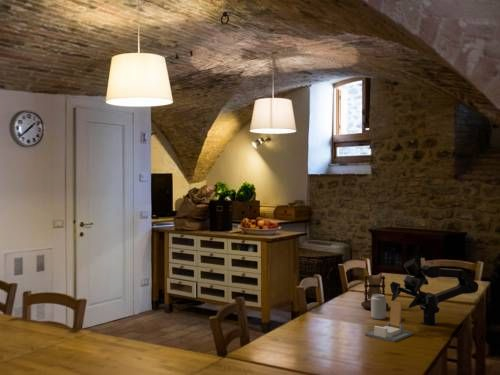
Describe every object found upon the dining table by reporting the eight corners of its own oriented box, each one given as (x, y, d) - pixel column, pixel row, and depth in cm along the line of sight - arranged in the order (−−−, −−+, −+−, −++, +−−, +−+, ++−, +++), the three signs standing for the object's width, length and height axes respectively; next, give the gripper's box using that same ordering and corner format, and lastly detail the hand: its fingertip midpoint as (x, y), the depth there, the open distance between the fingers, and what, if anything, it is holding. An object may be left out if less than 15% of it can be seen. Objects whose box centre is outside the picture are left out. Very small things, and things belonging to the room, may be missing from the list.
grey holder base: (384, 328, 262) (384, 317, 262) (413, 334, 251) (413, 323, 251) (365, 335, 250) (365, 324, 250) (394, 342, 239) (394, 331, 239)
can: (386, 320, 276) (386, 296, 276) (371, 319, 278) (371, 296, 278) (385, 316, 284) (385, 293, 283) (371, 315, 285) (370, 293, 285)
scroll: (387, 305, 308) (387, 270, 308) (389, 312, 293) (389, 275, 293) (360, 304, 310) (360, 270, 310) (361, 311, 296) (361, 274, 296)
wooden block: (390, 323, 256) (392, 300, 257) (400, 325, 252) (401, 302, 253) (389, 324, 255) (391, 300, 256) (399, 326, 252) (400, 302, 253)
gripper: (397, 265, 268) (380, 285, 260) (432, 276, 255) (416, 298, 247) (399, 282, 274) (383, 302, 265) (434, 293, 261) (419, 315, 253)
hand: (400, 304), depth 257 cm, fingers open, 9 cm apart
